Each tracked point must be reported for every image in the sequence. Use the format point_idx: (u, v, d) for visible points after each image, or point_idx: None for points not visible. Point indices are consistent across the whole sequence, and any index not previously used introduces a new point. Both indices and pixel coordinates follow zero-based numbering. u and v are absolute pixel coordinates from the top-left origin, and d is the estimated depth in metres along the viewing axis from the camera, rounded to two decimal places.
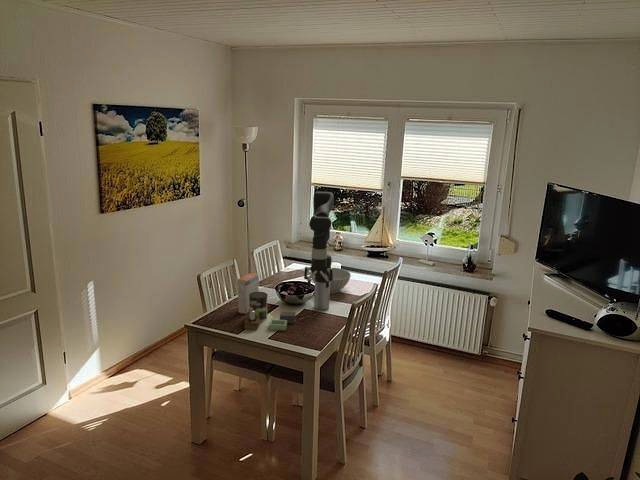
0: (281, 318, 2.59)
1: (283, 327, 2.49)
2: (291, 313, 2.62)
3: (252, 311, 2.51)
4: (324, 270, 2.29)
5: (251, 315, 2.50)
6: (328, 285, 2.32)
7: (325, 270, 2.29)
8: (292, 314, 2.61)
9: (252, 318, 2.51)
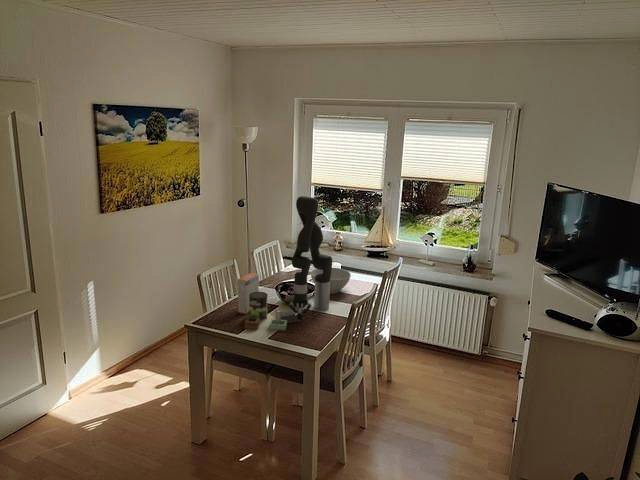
0: (283, 319, 2.58)
1: (283, 327, 2.49)
2: (289, 312, 2.63)
3: (278, 311, 2.51)
4: (305, 303, 2.58)
5: (277, 315, 2.50)
6: None
7: (306, 303, 2.58)
8: (291, 313, 2.62)
9: (278, 318, 2.51)
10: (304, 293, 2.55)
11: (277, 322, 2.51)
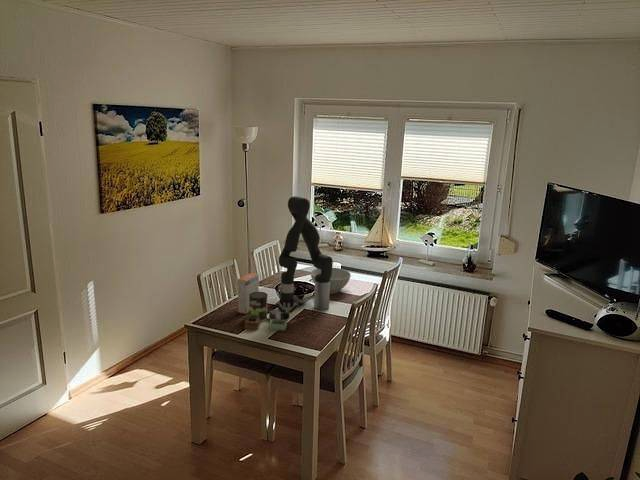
0: (274, 317, 2.60)
1: (283, 327, 2.49)
2: None
3: (278, 311, 2.51)
4: (291, 302, 2.58)
5: (277, 315, 2.50)
6: (288, 317, 2.61)
7: (292, 302, 2.58)
8: None
9: (278, 318, 2.51)
10: (291, 292, 2.55)
11: (277, 322, 2.51)
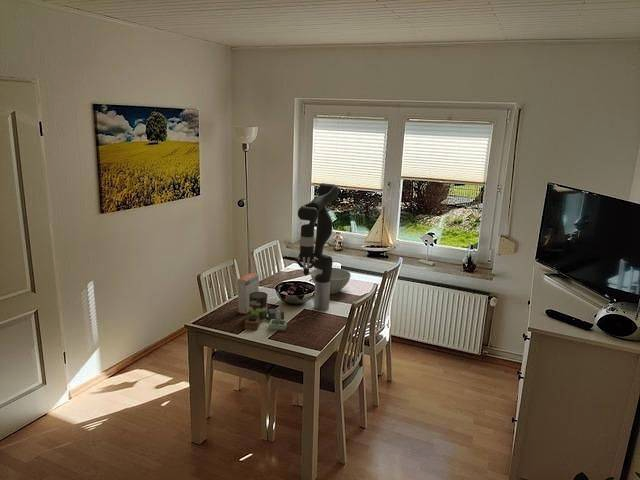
0: (271, 316, 2.62)
1: (283, 327, 2.49)
2: None
3: (278, 311, 2.51)
4: (311, 257, 2.48)
5: (277, 315, 2.50)
6: (308, 272, 2.50)
7: (312, 257, 2.48)
8: (281, 310, 2.65)
9: (278, 317, 2.51)
10: (311, 246, 2.44)
11: (277, 322, 2.51)
